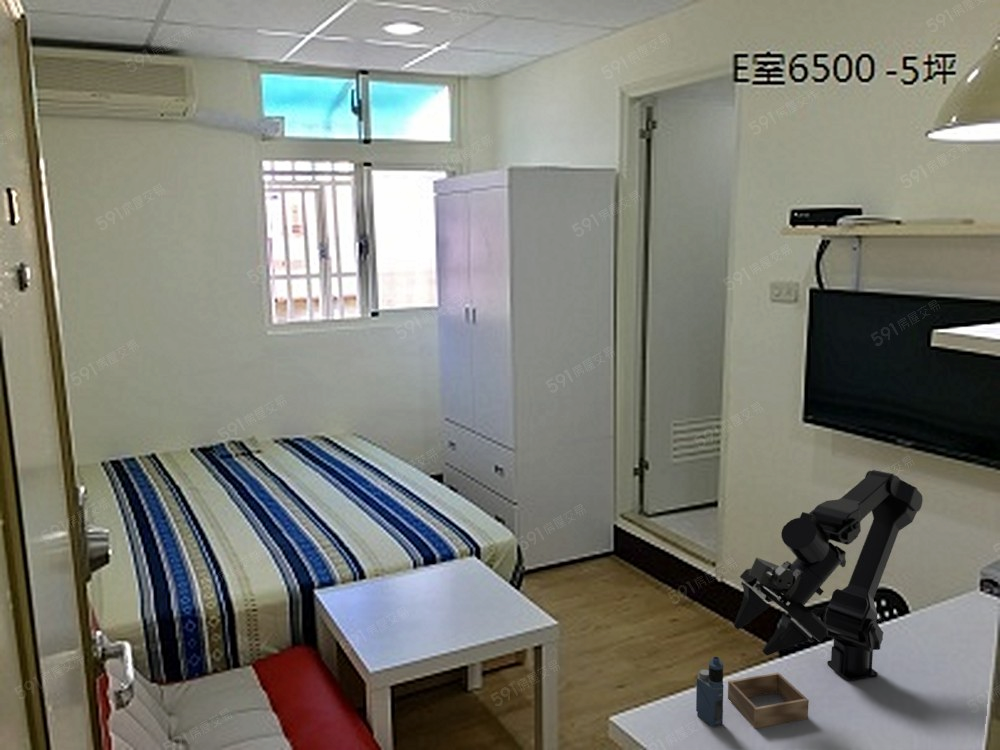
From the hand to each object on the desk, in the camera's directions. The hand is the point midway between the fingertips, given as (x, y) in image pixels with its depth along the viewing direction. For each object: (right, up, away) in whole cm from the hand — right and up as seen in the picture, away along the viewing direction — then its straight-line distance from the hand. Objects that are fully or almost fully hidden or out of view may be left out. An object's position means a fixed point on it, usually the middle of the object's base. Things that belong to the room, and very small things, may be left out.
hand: (749, 640), depth 134 cm
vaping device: (-7, -14, +1) cm, 15 cm away
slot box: (+4, -13, +3) cm, 14 cm away
